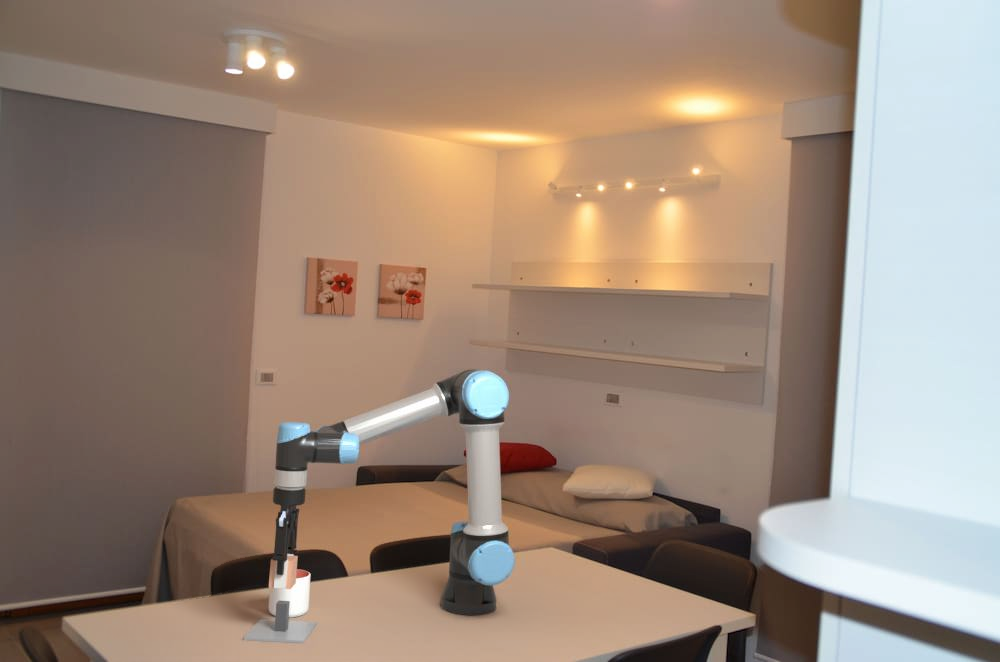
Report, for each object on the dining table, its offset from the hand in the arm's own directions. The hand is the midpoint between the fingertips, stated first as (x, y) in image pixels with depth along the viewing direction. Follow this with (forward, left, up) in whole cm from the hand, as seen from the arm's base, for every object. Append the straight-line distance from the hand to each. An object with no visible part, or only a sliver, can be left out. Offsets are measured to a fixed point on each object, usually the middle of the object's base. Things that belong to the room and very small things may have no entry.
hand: (282, 584), depth 207 cm
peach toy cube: (0, 0, 0) cm, 0 cm away
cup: (+2, -15, -12) cm, 19 cm away
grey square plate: (0, 0, -11) cm, 11 cm away
